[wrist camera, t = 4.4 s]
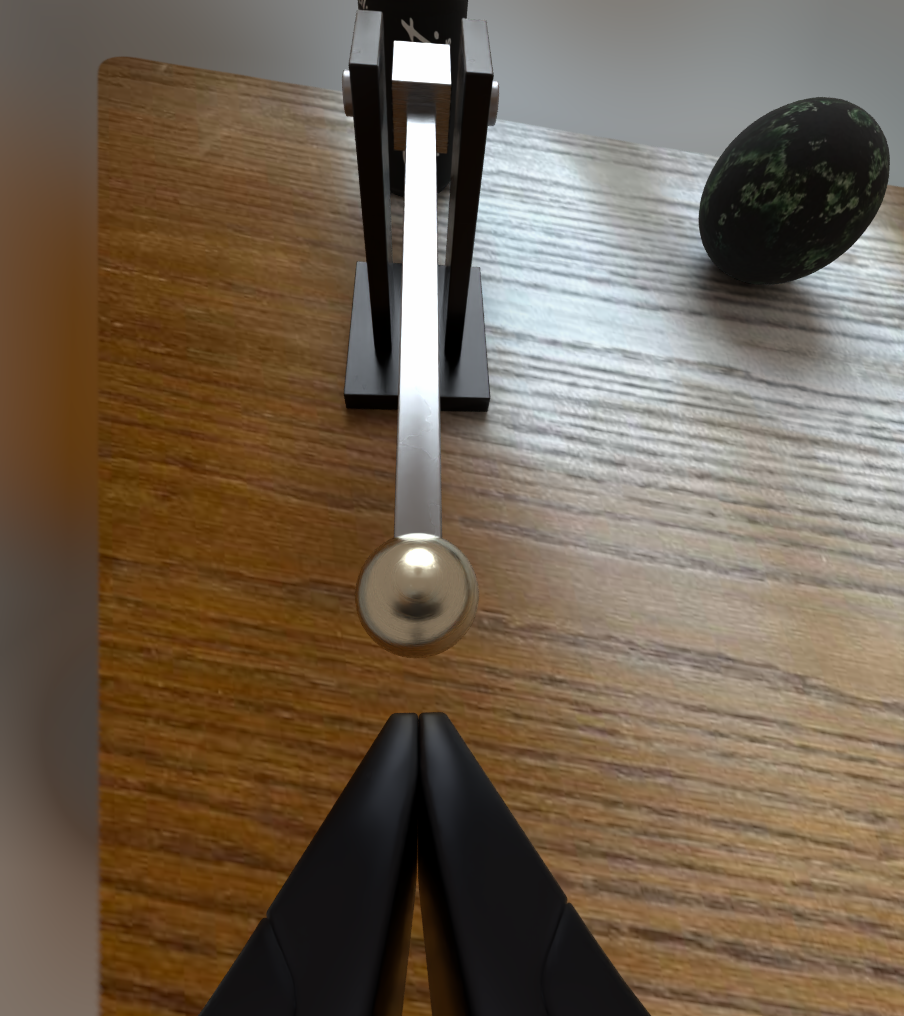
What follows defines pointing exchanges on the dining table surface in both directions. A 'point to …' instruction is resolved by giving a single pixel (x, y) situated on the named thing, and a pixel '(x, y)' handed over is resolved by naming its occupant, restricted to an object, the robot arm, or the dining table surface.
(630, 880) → the dining table surface
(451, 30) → the beverage can
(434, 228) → the lever
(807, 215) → the decorative stone
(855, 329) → the dining table surface
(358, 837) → the robot arm
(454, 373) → the lever bracket
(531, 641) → the dining table surface
